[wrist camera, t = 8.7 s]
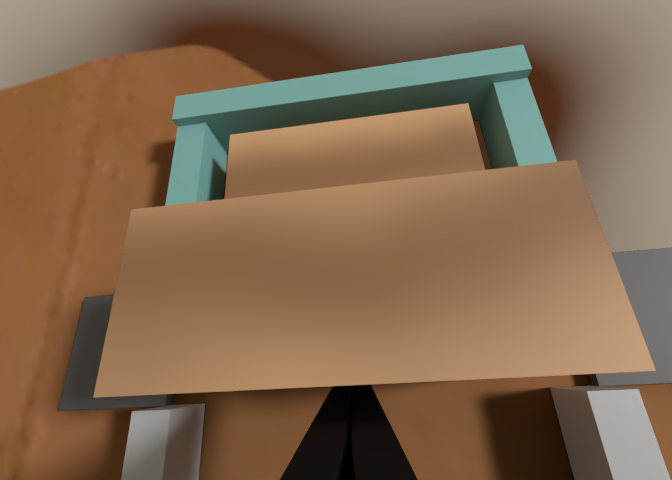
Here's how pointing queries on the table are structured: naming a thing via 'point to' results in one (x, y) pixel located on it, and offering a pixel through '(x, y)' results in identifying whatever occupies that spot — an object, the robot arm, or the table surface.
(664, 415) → the table surface
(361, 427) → the robot arm
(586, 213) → the step block
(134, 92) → the table surface
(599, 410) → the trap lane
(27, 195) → the table surface
